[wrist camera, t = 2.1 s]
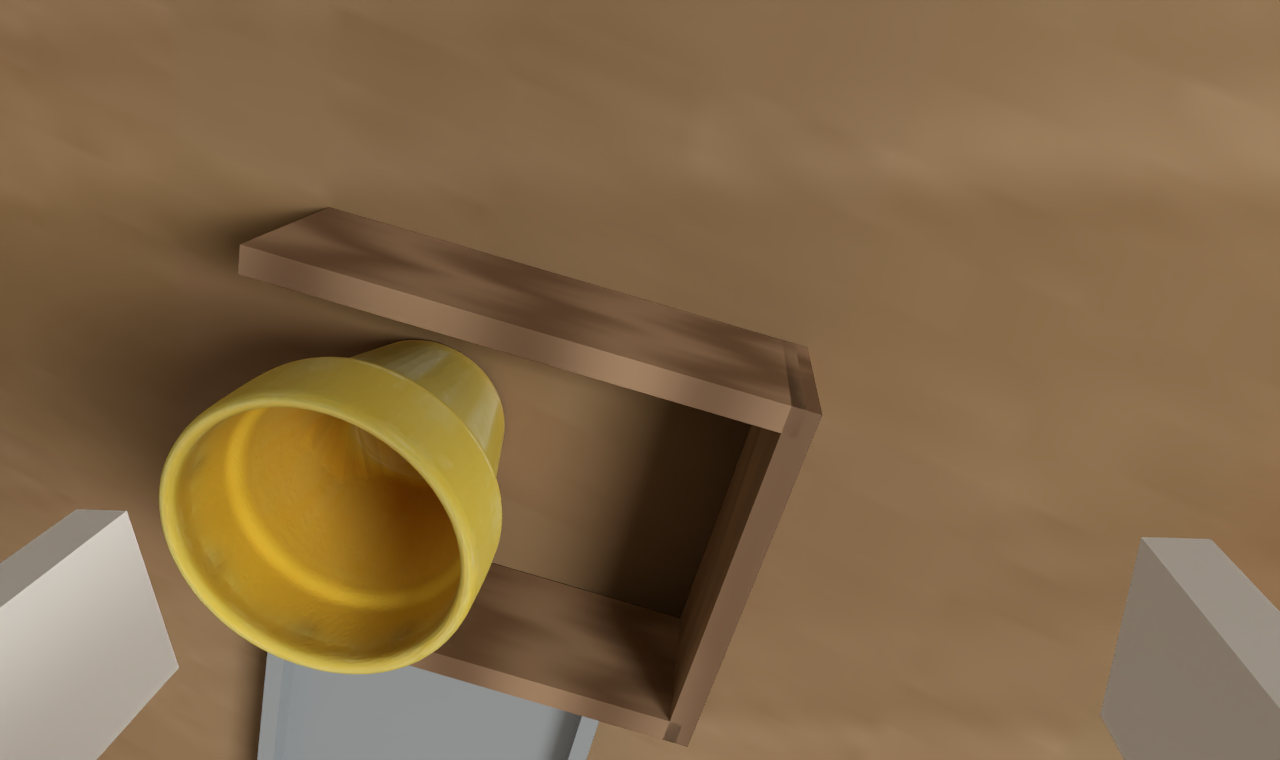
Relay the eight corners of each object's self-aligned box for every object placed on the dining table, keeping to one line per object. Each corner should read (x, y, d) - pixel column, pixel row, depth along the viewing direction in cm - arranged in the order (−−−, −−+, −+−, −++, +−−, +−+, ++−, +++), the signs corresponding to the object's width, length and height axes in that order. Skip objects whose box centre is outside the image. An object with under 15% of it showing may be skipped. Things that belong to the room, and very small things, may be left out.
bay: (295, 524, 37) (218, 609, 31) (329, 207, 31) (239, 244, 25) (695, 641, 37) (687, 746, 31) (807, 347, 31) (822, 415, 25)
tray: (272, 781, 44) (252, 813, 42) (296, 554, 37) (274, 581, 36) (548, 861, 44) (539, 897, 42) (618, 649, 37) (612, 680, 36)
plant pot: (290, 471, 36) (140, 617, 27) (328, 257, 32) (165, 345, 23) (511, 549, 36) (436, 718, 27) (577, 347, 32) (514, 468, 23)
